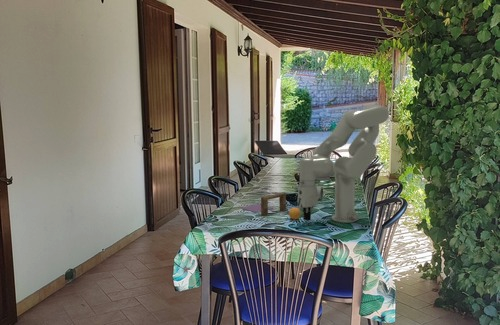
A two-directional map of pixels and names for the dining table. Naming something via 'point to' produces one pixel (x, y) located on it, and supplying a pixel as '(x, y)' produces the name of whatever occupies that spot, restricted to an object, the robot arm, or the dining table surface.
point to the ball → (294, 213)
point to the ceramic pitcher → (323, 175)
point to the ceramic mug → (320, 192)
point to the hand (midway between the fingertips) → (307, 219)
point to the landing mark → (254, 208)
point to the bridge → (265, 199)
